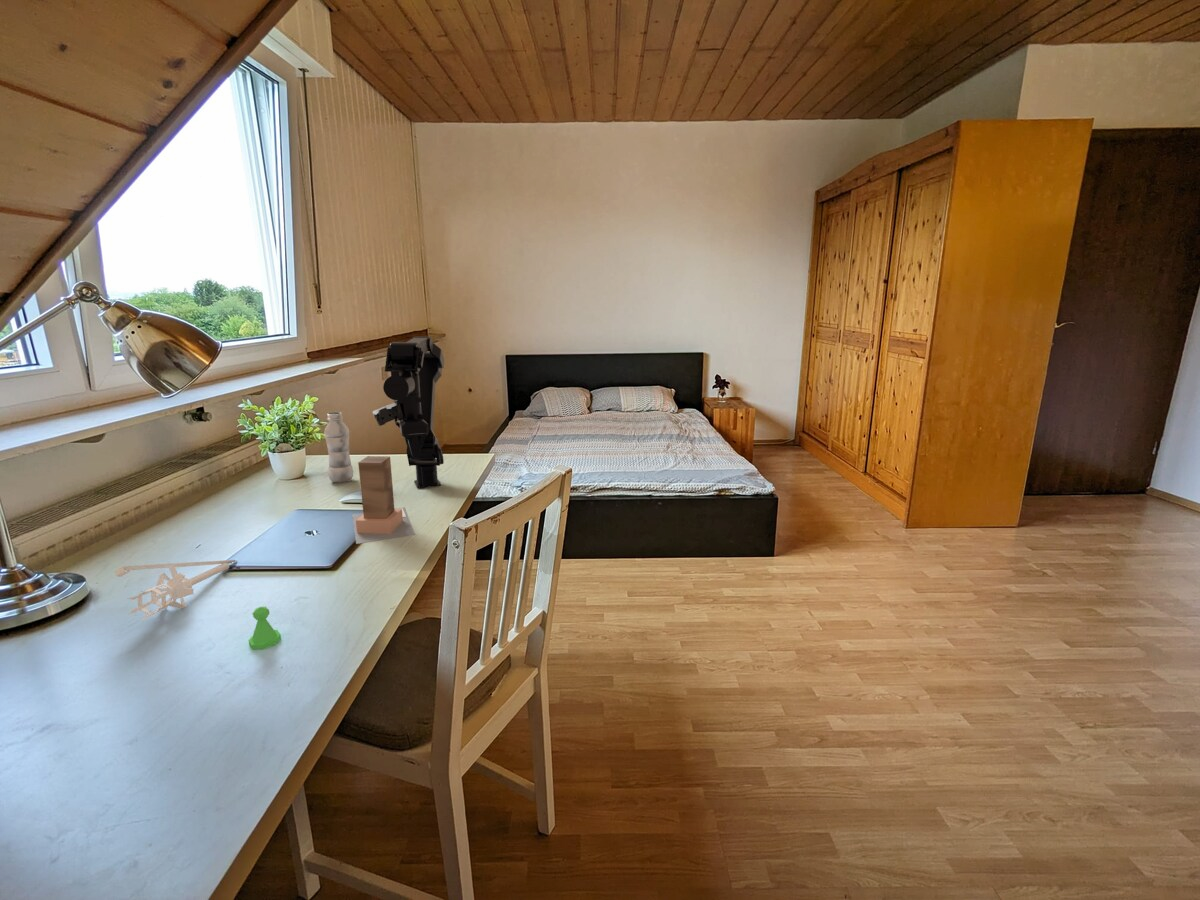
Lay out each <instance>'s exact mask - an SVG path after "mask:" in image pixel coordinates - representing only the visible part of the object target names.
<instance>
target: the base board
mask: <svg viewBox="0 0 1200 900" xmlns="http://www.w3.org/2000/svg"><path fill="white" fill-rule="evenodd" d="M396 509H402V516H403V521H402V522H401V523H400V524H399V525H398V527H397V528H396V529H395V530H394V531H393V532H392V533H391V534H377V533H357V528H356V520H357V519H358V518H359V517H360V516H361V515H363V512H362V513H355V514H351V515H352V523H353V529H354V530H353V531H354V537H355V544H356V545H359V544H364V543H371V542H372V543H373V542H378V541H384V540H391V539H392V540H393V539H398V538H404V537H410V536H411V537H412V536H416V533H415V530H414V528H413V526H412V524H411V521H410V518H409V515H408V513H407V510H406V508H405V507H399V508H396Z"/></svg>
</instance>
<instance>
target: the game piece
mask: <svg viewBox="0 0 1200 900" xmlns="http://www.w3.org/2000/svg"><path fill="white" fill-rule="evenodd" d="M269 615H270V610H269V608H268V607H267V606H259V607H257V608H255V609H254V611H253V612H252V616H253V618H254V619H255V621H256V625H255V628H254V630H253V634H252V636H251V637H250V638H249V639H248V645H249V646H250V648H251V649H252V650H265V649H268V648H271V647H274V646H276V644H277V643H279V641H281V640H282V636H281V633H280V632H279V630H278V629H274V628H273V627H272V625H271V624H270V622H269V621H268V619H267V618H268V617H269Z"/></svg>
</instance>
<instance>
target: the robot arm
mask: <svg viewBox="0 0 1200 900" xmlns="http://www.w3.org/2000/svg"><path fill="white" fill-rule="evenodd" d="M386 351H387V352H386V358H385V365H384V367H385V368H384V372H386V373H389V372H390V376H389V377H388V378H386V379H385V381H384V383H383V386H382V388H383V393H384V395H386V396H387V398H389V399H391V400H393V403H390V404H387V405H384V406H382V407H380V408H377V409H375V410H373V411H372V414H373V417H374V419H375V421H376V422H377V424H378V426H379V427H381V426H383V425H386V424H387V423H389V422H392V421H394V424H395V425H396V426H397V427H398V428H399V429H400V435H401V436H402V437H403V438H404V441H405V445H406V457H407V460H408V466H409V467H410V466H415V474H416V475H415V476H416V479H415V480H414V481H413V483H414V485H415V487H416V489H425V488H426V489H427V488H431V487H432V488H433V487H440V486H442V484H441V482H440V480H439V478H438V466H440V465H443V464H444V463H445V461H444V454H443V451H442V448H441V446H440V444H439V440H438V438H437V437H436V436H437V435H435V433H434V418H435V416H434V415H435V397H436V383H437V382H438V381H439V380H440V378H441V377H442V376H443V375H442V372H443V369H444V367H445V358H444V355H443V354H444V353H443V351H442V349H441V348H440V347H439V346H438V345H437V344H435V343H434V341H433V338H432V337H430V336H413V337H412V338H411V339H409V340H408V341H392V342H391V343H390V344H389V346H387V350H386Z"/></svg>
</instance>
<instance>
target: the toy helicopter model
mask: <svg viewBox="0 0 1200 900" xmlns="http://www.w3.org/2000/svg"><path fill="white" fill-rule="evenodd" d="M235 561H236V562H237V560H236V559H227V560H225V559H224V560H211V561H208V560H207V561H193V562H192V561H191V562H177V563H176V562H175V563H174V562H173V563H162V564H160V563H159V564H144V565H143V564H141V565H140V564H139V565H126V566H120V567H119V568H117V569H116V570H114V573H115V576H116V577H119V578H120V577H124V576H125V575H127V574H129V573H131V571H140V570H141V571H142V570H154V569H157V570H158V569H169V572H170V574H171V577H172V579H171V577H169V576H168V575H167V574H166V573H165V572H163V573H161V574H160V575H158V580H157V583H156V586H154V587H151V588H149V589H146V590H144V591H143V590H141V593H139V594H137V595H135V596H132V597H128V598H127V600H135V599H136V600H137V607H135V608H133V609H132V610H131V611H129V612H128V613H127V615H129V614H133V613H136V612H138V611H139V612H140V611H141V612H143V613H145V614H147V615H145V616H144V617H143V619H142V622H144V621H145V620H146V619H147V618H149V617H151V616H153V615H155V614H157V613H158V612H160V611H162V610H164V609H165V610H167V609H168V607H173V608H175V609H180V610H183V609H185V608H186V607H187V605H186V602H185V599H184V598H185V597H188V596H191V595H194V588H193V586H195V585H197V584H200V583H201V582H203V581H205V580H207V579H210V578H211V577H214V576H215V575H218V574H219V573H222V572H223V571H226V570H229V568H230V564H232V562H233V563H236V562H235ZM211 565H212V566H213V565H214V566H215V567H212V568H210V569H208V570H206V571H204V572H202V573H200V574H198V575H195V576H193V577H191V578H189V579H188V578H187V577H185V576H186V575H184V574H183V573H181V572H179V573H178V571H177V569H176V568H181V567H182V568H183V567H199V566H211ZM216 565H217V566H216ZM165 580H166V581H167V582H166V583H164V582H165ZM162 586H163V587H162ZM148 594H150V598H151V599H150V600H149V601H147V602H145V603H143V596H145V595H148ZM168 595H169V598H168V599H167V598H166V596H168ZM160 599H161V601H160ZM177 599H179V600H180V602H177ZM153 604H154V605H156V606H158V608H157V609H156V610H154V611H152V610H149V609H147V608H146V607H149V606H151V605H153Z"/></svg>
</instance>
